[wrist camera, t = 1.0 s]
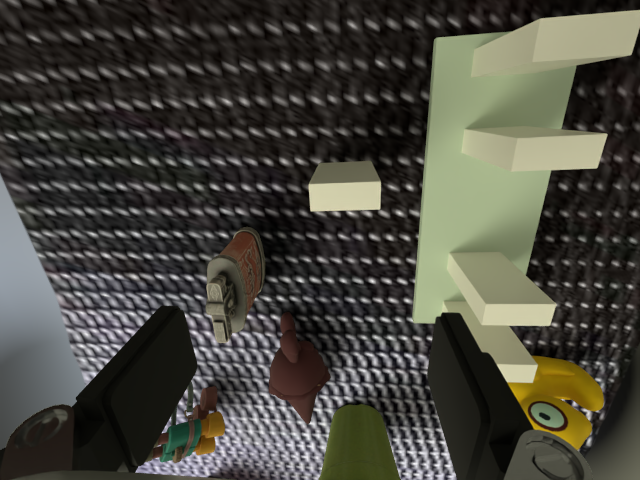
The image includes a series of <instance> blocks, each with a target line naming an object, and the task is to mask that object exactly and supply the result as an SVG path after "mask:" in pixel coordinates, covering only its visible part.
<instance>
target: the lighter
mask: <svg viewBox="0 0 640 480" xmlns="http://www.w3.org/2000/svg"><path fill="white" fill-rule="evenodd" d="M264 278H265V258H264V252H263V247H262V243H261V240H260V236H259V234H258V232H257V231H256V230H254V229H252V228H248V227H245V228H241V229H239V230H238V231H237V233H236V234H235V235H234V238H233V240H232V241H231V242H230V243H229V244H228V245H227V247H226V248H225V249H224V250H223V251H222V252H221V253H220V255H218V256H216V257H214V258H213V259H212V260H211V262H210V263H209V264H208V270H207V293H208V298H207V303H206V313H207V314H208V315H212V321H213V326H214V332H215V338H216V340H217V342H219V343H226V342H228V341H229V339H230V337H231V335H232V333H236V332H239V331H241V330H242V329H243V327H244V325H245V323H246V318H247V314H248V312H249V310H250V308H251V306H252V304H253V302H254V300H255V298H256V296H257V293H259V292H260V291H261V289H262V287H263V285H264Z"/></svg>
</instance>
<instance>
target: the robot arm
mask: <svg viewBox="0 0 640 480" xmlns="http://www.w3.org/2000/svg"><path fill="white" fill-rule="evenodd" d="M196 370H197V361H196V357H195V353H194V349H193V345H192V341H191V337H190V333H189V330H188V326H187V322H186V318H185V314H184V312H183V310H180V308H179V307H178V306H161V307H160V308H159V309H158V310H157V311H156V312H155V313H154V314H153V315H152V316H151V317H150V318H149V319H148V320H147V321H146V323H145V324H144V325H143V326H142V327H141V328H140V329H139V330H138V331H137V332H136V333H135V334H134V335H133V337H132V338H131V339H130V340H129V341H128V342H127V343H126V344H125V345H124V346H123V347H122V348H121V349H120V351H119V352H118V353H117V354H116V355H115V356H114V357H113V358H112V359H111V360H110V361H109V362H108V363H107V365H106V366H105V367H104V368H103V369H102V370H101V371H100V372H99V373H98V374H97V375H96V376H95V378H94V379H93V380H92V381H91V382H90V383H89V384H88V385H87V386H86V387H85V388H84V389H83V390H82V392H81V393H80V394H79V395H78V396H77V397H76V400H77V402H76V403H75V404H74V405H73V406H72V407H71V406H69V405H64V404H61V405H54V406H51V407H48V408H45V409H43V410H41V411H39V412H37V413H36V414H34V415H32V416H31V417H29V418H28V419H26V420H25V421H24V422H23V423H22V424H21V425H20V426H18V427H17V428H16V429H15V431H14V432H13V433H12V434H11V436H10V437H9V439H8V442H7V444H6V448H4V449H2V450H0V480H235V479H221V478H207V477H192V476H176V475H161V474H146V473H135V472H136V470H137V468H138V466H141V465H143V464H144V463H145V461H146V459H147V458H148V456H149V454H150V452H151V451H152V449H153V447H154V445H155V444H156V442H157V440H158V438H159V436H160V435H161V433H162V431H163V429H164V428H165V426H166V424H167V422H168V421H169V419H170V417H171V415H172V413H173V412H174V410H175V408H176V406H177V405H178V403H179V401H180V399H181V398H182V396H183V394H184V392H185V390H186V389H187V387H188V385H189V383H190V382H191V380H192V378H193V376H194V375H195V373H196ZM427 376H428V383H429V386H430V390H431V393H432V396H433V400H434V403H435V406H436V410H437V413H438V416H439V420H440V423H441V426H442V430H443V433H444V437H445V440H446V443H447V447H448V450H449V453H450V457H451V460H452V463H453V467H454V470H455V473H456V477H457V480H593V476H592V472H591V469H590V467H589V465H588V463H587V462H586V460H585V459H584V458H583V456H582V455H581V454H580V453H579V452H578V451H577V450H576V449H575V448H574V447H573V446H572V445H571V444H569V443H568V442H566V441H565V440H563V439H562V438H560V437H559V436H556V435H554V434H552V433H550V432H546V431H542V430H535V429H534V428H533V426H532V424H531V423H530V421H529V419H528V417H527V416H526V414H525V412H524V411H523V409H522V407H521V405H520V404H519V402H518V400H517V399H516V397H515V395H514V393H513V392H512V390H511V388H510V387H509V385H508V383H507V381H506V380H505V378H504V376H503V375H502V373H501V371H500V369H499V368H498V366H497V364H496V363H495V361H494V359H493V358H492V356H491V355H490V354H489V353H487V352H482V351H481V349H480V348H479V346H478V344H477V342H476V340H475V339H474V337H473V335H472V333H471V331H470V330H469V328H468V326H467V324H466V322H465V320H464V319H463V317H462V315H461V314H460V313H455V312H443V313H442V314H441V316H437V317H436V319H435V326H434V332H433V339H432V346H431V352H430V359H429V365H428V373H427Z"/></svg>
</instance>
